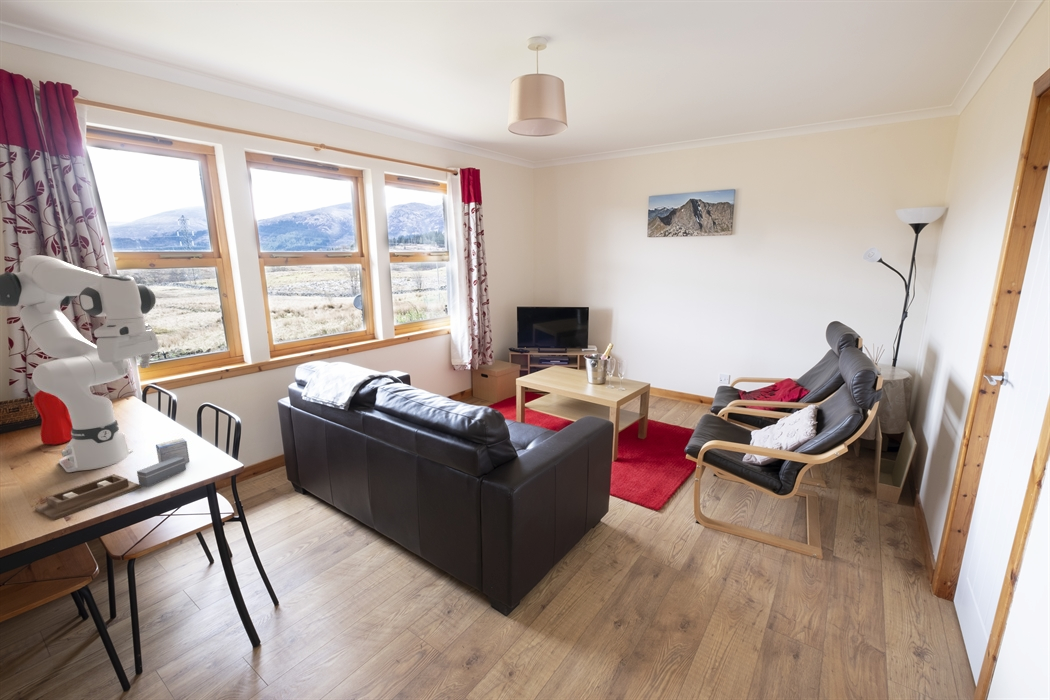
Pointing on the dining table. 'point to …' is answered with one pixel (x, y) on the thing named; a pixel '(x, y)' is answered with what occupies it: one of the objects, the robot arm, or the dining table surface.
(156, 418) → the dining table surface
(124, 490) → the brown wooden tray
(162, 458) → the medicine box
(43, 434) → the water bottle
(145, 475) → the gray rectangular box
